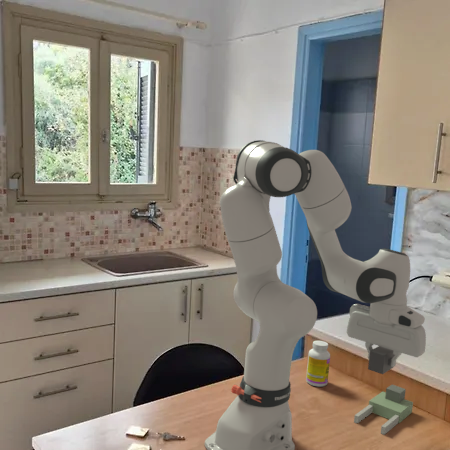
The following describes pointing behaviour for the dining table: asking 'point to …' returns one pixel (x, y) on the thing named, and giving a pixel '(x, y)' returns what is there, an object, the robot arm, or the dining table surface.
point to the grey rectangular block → (380, 359)
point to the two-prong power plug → (388, 407)
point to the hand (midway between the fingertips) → (381, 362)
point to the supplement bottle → (318, 364)
